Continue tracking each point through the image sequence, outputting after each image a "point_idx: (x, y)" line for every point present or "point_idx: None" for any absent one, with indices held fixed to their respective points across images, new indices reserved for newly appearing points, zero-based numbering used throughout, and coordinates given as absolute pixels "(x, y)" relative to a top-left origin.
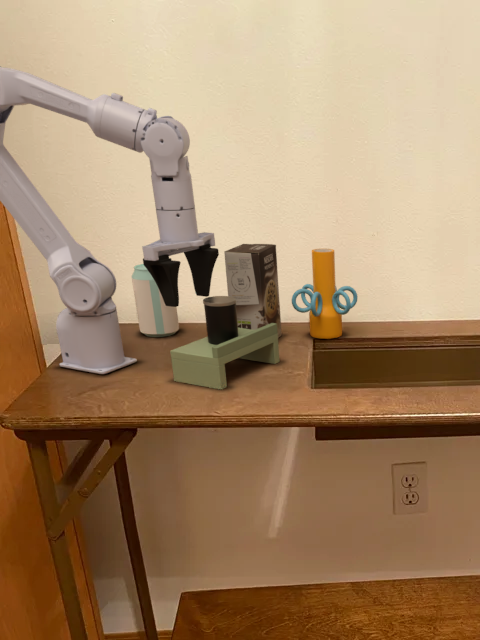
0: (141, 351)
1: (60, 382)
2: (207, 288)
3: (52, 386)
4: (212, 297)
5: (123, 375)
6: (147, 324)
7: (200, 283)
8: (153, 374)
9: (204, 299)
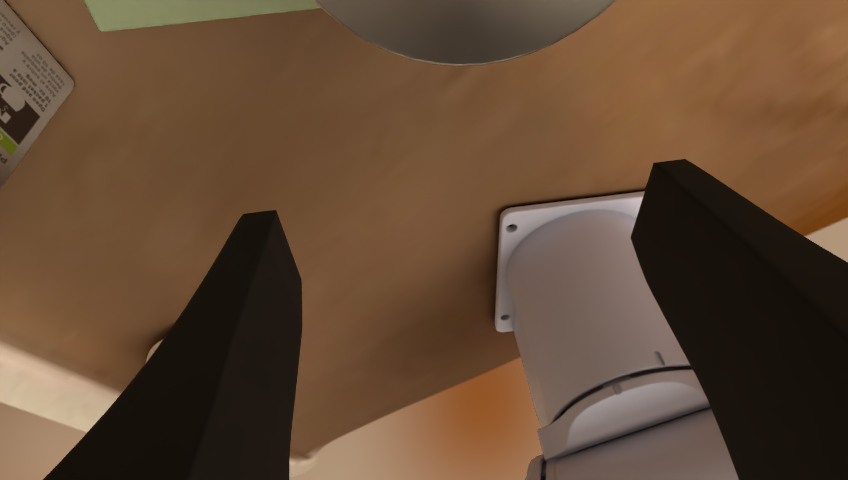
0: (394, 275)
1: None
2: (261, 251)
3: (791, 215)
4: (440, 14)
5: (645, 143)
6: None
7: (277, 332)
8: (602, 67)
9: (568, 20)
